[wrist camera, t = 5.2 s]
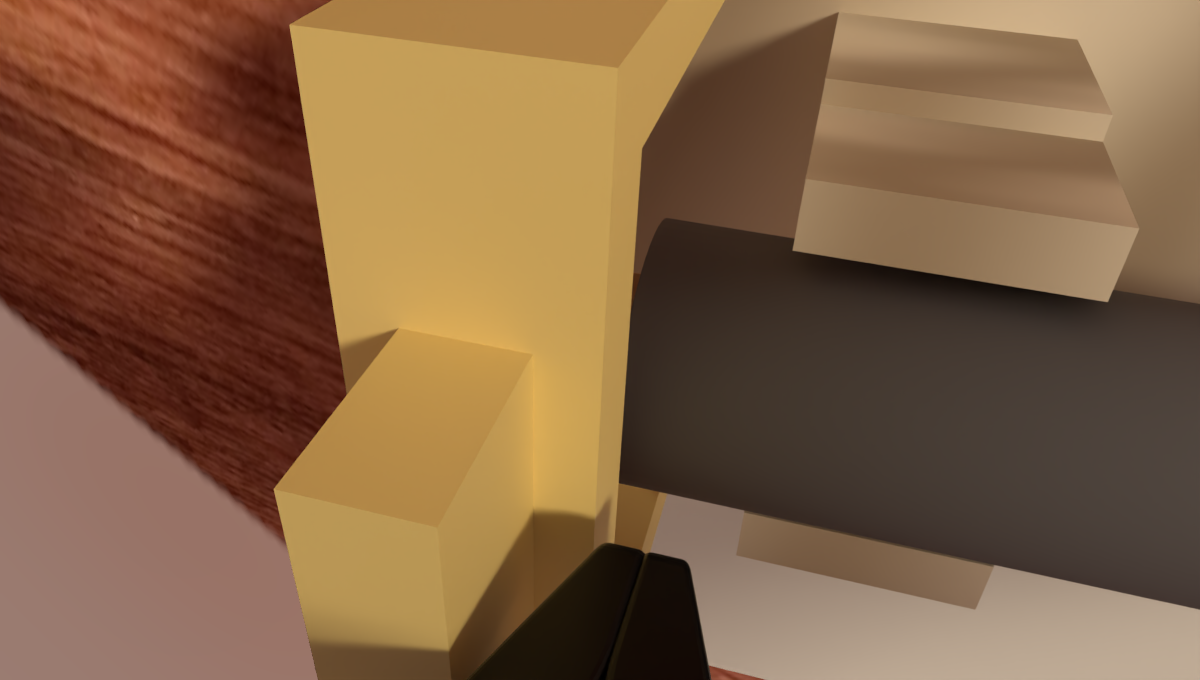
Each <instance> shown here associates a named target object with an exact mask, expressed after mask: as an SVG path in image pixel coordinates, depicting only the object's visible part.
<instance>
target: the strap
mask: <svg viewBox="0 0 1200 680" xmlns="http://www.w3.org/2000/svg"><path fill="white" fill-rule="evenodd" d="M724 1H725V0H332V1H330V2H328V3H327V4H325V5H323V6H321V7H320V8H318V9H316V10H314V11H312V12H311V13H309V14H307V15H305V16H304V17H302V18H300V19H298V20H297V21H295V22H293V23H291V24H290V25H289V26H290V32H291V39H292V45H293V52H294V58H295V64H296V71H297V77H298V84H299V90H300V97H301V103H302V109H303V116H304V122H305V129H306V135H307V142H308V148H309V154H310V161H311V167H312V174H313V180H314V187H315V193H316V200H317V206H318V212H319V219H320V225H321V232H322V238H323V245H324V251H325V257H326V264H327V270H328V277H329V283H330V290H331V296H332V302H333V309H334V315H335V322H336V328H337V335H338V341H339V348H340V354H341V360H342V367H343V373H344V380H345V386H346V393H347V395H346V397H345V398H344V399H343V401H342V402H341V403H340V404H339V406H338V407H337V408H336V410H335V411H334V412H333V413H332V415H331V416H330V417H329V419H328V420H327V421H326V422H325V424H324V425H323V426H322V428H321V429H320V430H319V431H318V433H317V434H316V435H315V437H314V438H313V439H312V440H311V442H310V443H309V444H308V446H307V447H306V448H305V449H304V451H303V452H302V453H301V455H300V456H299V457H298V458H297V460H296V461H295V462H294V464H293V465H292V466H291V467H290V469H289V470H288V471H287V473H286V474H285V475H284V476H283V478H282V479H281V480H280V482H279V483H278V484H277V485H276V487H275V488H274V493H275V497H276V501H277V505H278V510H279V514H280V518H281V523H282V527H283V531H284V536H285V540H286V544H287V548H288V553H289V557H290V561H291V565H292V570H293V574H294V579H295V583H296V587H297V591H298V596H299V600H300V604H301V609H302V613H303V617H304V621H305V625H306V630H307V634H308V639H309V643H310V647H311V651H312V656H313V660H314V664H315V669H316V673H317V677H318V680H466V679H467V678H468V677H469V676H470V675H471V674H472V673H473V672H474V671H475V670H476V669H477V668H478V667H479V666H480V665H481V664H482V663H483V662H484V661H485V660H486V659H487V658H488V657H489V656H490V655H491V654H492V653H493V652H494V651H495V650H496V649H497V648H498V647H499V646H500V645H501V644H502V643H503V642H504V641H505V640H506V639H507V638H508V637H509V636H510V635H511V634H512V633H513V632H514V631H515V630H516V629H517V628H518V626H519V625H520V624H521V623H522V622H523V621H524V620H525V619H526V618H527V617H528V616H529V615H530V614H531V613H532V612H533V611H534V610H535V609H536V608H537V607H538V606H539V605H540V604H541V603H542V602H543V601H544V600H545V599H546V598H547V597H548V596H549V595H550V594H551V593H552V592H553V591H554V590H555V589H556V588H557V587H558V586H559V585H560V584H561V583H562V582H563V581H564V580H565V579H566V578H567V577H568V576H569V575H570V574H571V573H572V572H573V571H574V570H575V569H576V568H577V567H578V566H579V565H580V564H581V563H582V562H583V561H584V560H585V559H586V558H587V557H588V556H589V555H590V554H591V553H592V552H593V551H594V550H595V549H596V548H597V547H598V546H599V545H601V544H603V543H613V544H618V545H622V546H627V547H631V548H635V549H640V550H641V551H643V552H644V553H645V554H646V553H649V552H650V551H651V547H652V544H653V541H654V537H655V534H656V530H657V527H658V524H659V520H660V517H661V513H662V510H663V506H664V503H665V500H666V496H667V494H666V493H661V492H657V491H652V490H648V489H643V488H638V487H634V486H629V485H625V484H620V483H619V469H620V455H621V441H622V427H623V412H624V398H625V384H626V370H627V356H628V341H629V327H630V313H631V299H632V284H633V270H634V256H635V242H636V227H637V213H638V199H639V185H640V171H641V156H642V148H643V146H644V144H645V142H646V140H647V139H648V137H649V135H650V133H651V132H652V130H653V128H654V126H655V124H656V123H657V121H658V119H659V117H660V115H661V114H662V112H663V110H664V108H665V107H666V105H667V103H668V101H669V99H670V98H671V96H672V94H673V92H674V90H675V89H676V87H677V85H678V83H679V81H680V80H681V78H682V76H683V74H684V73H685V71H686V69H687V67H688V65H689V64H690V62H691V60H692V58H693V56H694V55H695V53H696V51H697V49H698V48H699V46H700V44H701V42H702V40H703V39H704V37H705V35H706V33H707V31H708V30H709V28H710V26H711V24H712V22H713V21H714V19H715V17H716V15H717V14H718V12H719V10H720V8H721V6H722V5H723V3H724Z"/></svg>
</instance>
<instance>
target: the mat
mask: <svg viewBox="0 0 1200 680" xmlns="http://www.w3.org/2000/svg"><path fill="white" fill-rule="evenodd" d="M743 516H744V510H739V509H735V508H730V507H726V506H721V505H716V504H712V503H707V502H703V501H698V500H693V499H689V498H684V497H680V496H675V495H670V494H667V496H666V500H665V503H664V506H663V510H662V513H661V517H660V520H659V524H658V527H657V530H656V534H655V537H654V541H653V544H652V547H651V551H650V552H653V553H657V554H662V555H666V556H671V557H675V558H679V559H683V560H685V561H686V562H687V563H688V564H689V566H690V569H691V574H692V579H693V585H694V590H695V595H696V601H697V606H698V611H699V617H700V622H701V627H702V633H703V638H704V643H705V648H706V654H707V659H708V664H709V665H710V666H714V667H718V668H722V669H726V670H730V671H734V672H738V673H742V674H746V675H750V676H754V677H758V678H762V679H766V680H1200V610H1199V609H1194V608H1189V607H1185V606H1180V605H1176V604H1171V603H1166V602H1162V601H1157V600H1153V599H1148V598H1143V597H1139V596H1134V595H1130V594H1125V593H1121V592H1116V591H1111V590H1107V589H1102V588H1098V587H1093V586H1088V585H1084V584H1079V583H1075V582H1070V581H1065V580H1061V579H1056V578H1052V577H1047V576H1042V575H1038V574H1033V573H1029V572H1024V571H1019V570H1015V569H1010V568H1006V567H1001V566H997V565H994V568H993V570H992V572H991V575H990V577H989V579H988V582H987V584H986V586H985V589H984V591H983V593H982V596H981V598H980V600H979V603H978V605H977V607H976V610H974V609H970V608H965V607H961V606H957V605H952V604H948V603H943V602H939V601H935V600H930V599H926V598H921V597H917V596H913V595H908V594H904V593H899V592H895V591H891V590H886V589H882V588H877V587H873V586H869V585H864V584H860V583H855V582H851V581H847V580H842V579H838V578H833V577H829V576H825V575H820V574H816V573H811V572H807V571H803V570H798V569H794V568H789V567H785V566H781V565H776V564H772V563H767V562H763V561H759V560H754V559H750V558H745V557H741V556H737V555H736V553H737V548H738V543H739V537H740V532H741V526H742V521H743Z"/></svg>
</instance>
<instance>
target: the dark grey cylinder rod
mask: <svg viewBox="0 0 1200 680" xmlns="http://www.w3.org/2000/svg"><path fill="white" fill-rule="evenodd" d="M794 240H795V238H789V237H782V236H776V235H770V234H764V233H758V232H751V231H745V230H739V229H733V228H727V227H720V226H714V225H708V224H702V223H696V222H689V221H683V220H677V219H671V218H665V219H664V220H662V222H661V223H660V225H659V226H658V228H657V230H656V232H655V234H654V236H653V239H652V241H651V244H650V246H649V249H648V252H647V255H646V258H645V261H644V264H643V268H642V271H641V274H639V273H634V272H633V284H632V299H631V313H630V327H629V341H628V356H627V370H626V384H625V398H624V412H623V427H622V441H621V455H620V469H619V483H620V484H625V485H629V486H634V487H638V488H643V489H648V490H652V491H657V492H661V493H666V494H670V495H675V496H680V497H684V498H689V499H693V500H698V501H703V502H707V503H712V504H716V505H721V506H726V507H730V508H735V509H739V510H744V511H749V512H753V513H758V514H762V515H767V516H772V517H776V518H781V519H785V520H790V521H794V522H799V523H804V524H808V525H813V526H817V527H822V528H827V529H831V530H836V531H840V532H845V533H850V534H854V535H859V536H863V537H868V538H873V539H877V540H882V541H886V542H891V543H895V544H900V545H905V546H909V547H914V548H918V549H923V550H928V551H932V552H937V553H941V554H946V555H951V556H955V557H960V558H964V559H969V560H974V561H978V562H983V563H987V564H992V565H997V566H1001V567H1006V568H1010V569H1015V570H1019V571H1024V572H1029V573H1033V574H1038V575H1042V576H1047V577H1052V578H1056V579H1061V580H1065V581H1070V582H1075V583H1079V584H1084V585H1088V586H1093V587H1098V588H1102V589H1107V590H1111V591H1116V592H1121V593H1125V594H1130V595H1134V596H1139V597H1143V598H1148V599H1153V600H1157V601H1162V602H1166V603H1171V604H1176V605H1180V606H1185V607H1189V608H1194V609H1199V610H1200V304H1198V303H1191V302H1185V301H1179V300H1173V299H1167V298H1160V297H1154V296H1148V295H1142V294H1136V293H1129V292H1123V291H1117V290H1113V291H1112V293H1111V296H1110V298H1109V300H1108V302H1104V301H1097V300H1091V299H1085V298H1079V297H1073V296H1067V295H1061V294H1055V293H1049V292H1043V291H1036V290H1030V289H1024V288H1018V287H1012V286H1006V285H1000V284H994V283H988V282H981V281H975V280H969V279H963V278H957V277H951V276H945V275H939V274H933V273H927V272H920V271H914V270H908V269H902V268H896V267H890V266H884V265H878V264H872V263H866V262H859V261H853V260H847V259H841V258H835V257H829V256H823V255H817V254H811V253H804V252H798V251H792V250H793V245H794Z"/></svg>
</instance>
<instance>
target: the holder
mask: <svg viewBox="0 0 1200 680" xmlns="http://www.w3.org/2000/svg"><path fill="white" fill-rule="evenodd" d="M665 218H671V219H677V220H683V221H689V222H696V223H702V224H708V225H714V226H720V227H727V228H733V229H739V230H745V231H751V232H758V233H764V234H770V235H776V236H782V237H789V238H795V240H794V245H793V250H792V251H798V252H804V253H811V254H817V255H823V256H829V257H835V258H841V259H847V260H853V261H859V262H866V263H872V264H878V265H884V266H890V267H896V268H902V269H908V270H914V271H920V272H927V273H933V274H939V275H945V276H951V277H957V278H963V279H969V280H975V281H981V282H988V283H994V284H1000V285H1006V286H1012V287H1018V288H1024V289H1030V290H1036V291H1043V292H1049V293H1055V294H1061V295H1067V296H1073V297H1079V298H1085V299H1091V300H1097V301H1104V302H1108V300H1109V298H1110V296H1111V293H1112V291H1113V290H1117V291H1123V292H1129V293H1136V294H1142V295H1148V296H1154V297H1160V298H1167V299H1173V300H1179V301H1185V302H1191V303H1198V304H1200V0H725V1H724V3H723V5H722V6H721V8H720V10H719V12H718V14H717V15H716V17H715V19H714V21H713V22H712V24H711V26H710V28H709V30H708V31H707V33H706V35H705V37H704V39H703V40H702V42H701V44H700V46H699V48H698V49H697V51H696V53H695V55H694V56H693V58H692V60H691V62H690V64H689V65H688V67H687V69H686V71H685V73H684V74H683V76H682V78H681V80H680V81H679V83H678V85H677V87H676V89H675V90H674V92H673V94H672V96H671V98H670V99H669V101H668V103H667V105H666V107H665V108H664V110H663V112H662V114H661V115H660V117H659V119H658V121H657V123H656V124H655V126H654V128H653V130H652V132H651V133H650V135H649V137H648V139H647V140H646V142H645V144H644V146H643V148H642V156H641V171H640V185H639V199H638V213H637V227H636V242H635V256H634V270H633V272H634V273H639V274H641V271H642V268H643V264H644V261H645V258H646V255H647V252H648V249H649V246H650V244H651V241H652V239H653V236H654V234H655V232H656V230H657V228H658V226H659V225H660V223H661V222H662V220H664V219H665ZM736 555H737V556H741V557H745V558H750V559H754V560H759V561H763V562H767V563H772V564H776V565H781V566H785V567H789V568H794V569H798V570H803V571H807V572H811V573H816V574H820V575H825V576H829V577H833V578H838V579H842V580H847V581H851V582H855V583H860V584H864V585H869V586H873V587H877V588H882V589H886V590H891V591H895V592H899V593H904V594H908V595H913V596H917V597H921V598H926V599H930V600H935V601H939V602H943V603H948V604H952V605H957V606H961V607H965V608H970V609H974V610H976V607H977V605H978V603H979V600H980V598H981V596H982V593H983V591H984V589H985V586H986V584H987V582H988V579H989V577H990V575H991V572H992V570H993V568H994V565H992V564H987V563H983V562H978V561H974V560H969V559H964V558H960V557H955V556H951V555H946V554H941V553H937V552H932V551H928V550H923V549H918V548H914V547H909V546H905V545H900V544H895V543H891V542H886V541H882V540H877V539H873V538H868V537H863V536H859V535H854V534H850V533H845V532H840V531H836V530H831V529H827V528H822V527H817V526H813V525H808V524H804V523H799V522H794V521H790V520H785V519H781V518H776V517H772V516H767V515H762V514H758V513H753V512H749V511H744V516H743V521H742V526H741V532H740V537H739V543H738V548H737V553H736Z"/></svg>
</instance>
